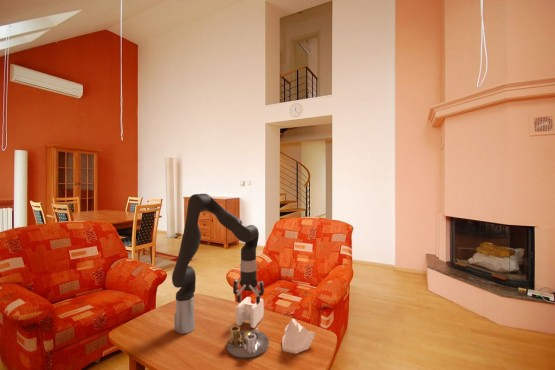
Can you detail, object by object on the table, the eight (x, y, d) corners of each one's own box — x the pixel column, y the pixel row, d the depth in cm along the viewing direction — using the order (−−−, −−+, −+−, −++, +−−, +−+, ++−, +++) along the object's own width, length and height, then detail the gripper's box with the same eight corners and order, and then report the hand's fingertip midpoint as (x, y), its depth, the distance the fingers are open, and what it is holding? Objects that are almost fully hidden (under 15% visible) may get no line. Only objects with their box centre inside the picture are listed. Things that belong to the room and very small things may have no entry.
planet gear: (242, 353, 118) (242, 340, 118) (246, 344, 124) (246, 332, 124) (256, 354, 117) (256, 341, 117) (259, 345, 123) (259, 333, 123)
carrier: (220, 356, 118) (220, 344, 118) (234, 331, 138) (234, 321, 137) (264, 360, 115) (264, 348, 115) (271, 334, 135) (271, 323, 135)
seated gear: (229, 345, 123) (228, 333, 123) (228, 338, 129) (228, 326, 129) (242, 343, 125) (242, 331, 125) (241, 336, 131) (241, 324, 131)
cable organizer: (252, 331, 138) (252, 309, 138) (235, 327, 141) (234, 306, 141) (264, 317, 152) (263, 297, 152) (247, 314, 155) (247, 295, 155)
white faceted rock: (306, 361, 117) (300, 334, 114) (277, 353, 124) (271, 328, 121) (315, 339, 127) (310, 314, 124) (288, 333, 134) (282, 309, 132)
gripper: (231, 270, 119) (231, 305, 119) (261, 272, 117) (261, 308, 117) (236, 265, 126) (236, 298, 126) (265, 266, 124) (265, 300, 124)
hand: (248, 303), depth 122 cm, fingers open, 8 cm apart
